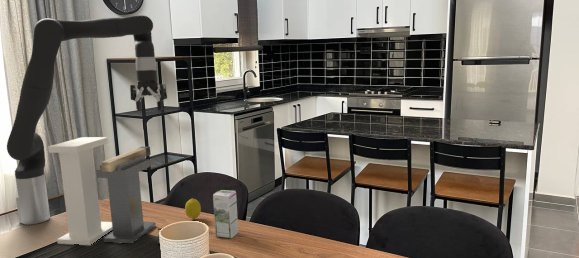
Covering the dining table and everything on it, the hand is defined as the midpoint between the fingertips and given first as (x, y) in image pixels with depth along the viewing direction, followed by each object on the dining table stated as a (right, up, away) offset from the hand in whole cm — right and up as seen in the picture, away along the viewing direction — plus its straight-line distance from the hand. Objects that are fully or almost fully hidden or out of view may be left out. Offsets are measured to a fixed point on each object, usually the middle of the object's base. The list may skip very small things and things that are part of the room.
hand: (150, 110), depth 170 cm
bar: (+1, -18, -25) cm, 31 cm away
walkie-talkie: (+17, -44, -31) cm, 56 cm away
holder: (+1, -42, -24) cm, 49 cm away
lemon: (+20, -40, -13) cm, 47 cm away
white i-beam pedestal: (-13, -43, -23) cm, 50 cm away
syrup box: (+34, -42, -28) cm, 61 cm away
